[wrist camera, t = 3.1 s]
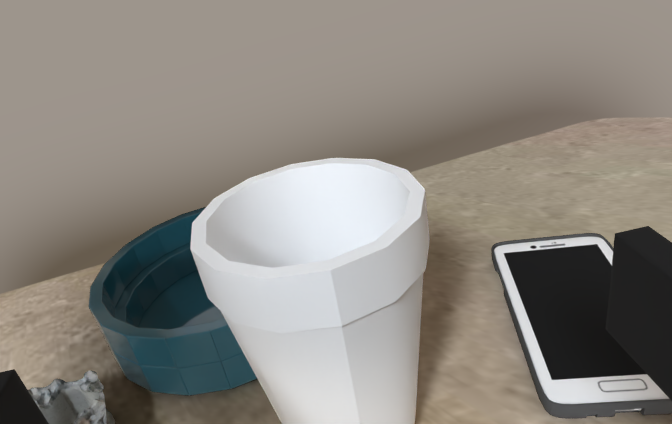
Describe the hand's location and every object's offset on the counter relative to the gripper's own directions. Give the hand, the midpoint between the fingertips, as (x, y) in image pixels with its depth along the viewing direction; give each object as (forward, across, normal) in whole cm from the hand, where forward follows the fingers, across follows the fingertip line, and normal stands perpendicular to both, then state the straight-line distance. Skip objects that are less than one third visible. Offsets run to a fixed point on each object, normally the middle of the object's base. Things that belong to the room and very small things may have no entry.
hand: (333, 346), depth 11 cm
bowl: (+21, -7, -14) cm, 27 cm away
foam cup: (+10, 0, -14) cm, 17 cm away
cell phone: (+14, +14, -14) cm, 24 cm away
